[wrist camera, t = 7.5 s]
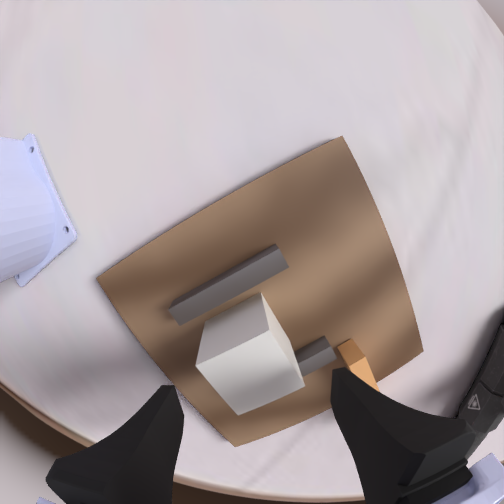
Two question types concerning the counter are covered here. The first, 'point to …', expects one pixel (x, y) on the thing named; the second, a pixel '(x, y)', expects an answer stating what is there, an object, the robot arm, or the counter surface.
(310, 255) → the base board
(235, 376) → the white block
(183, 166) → the counter surface
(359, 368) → the bar
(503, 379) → the laser sight
